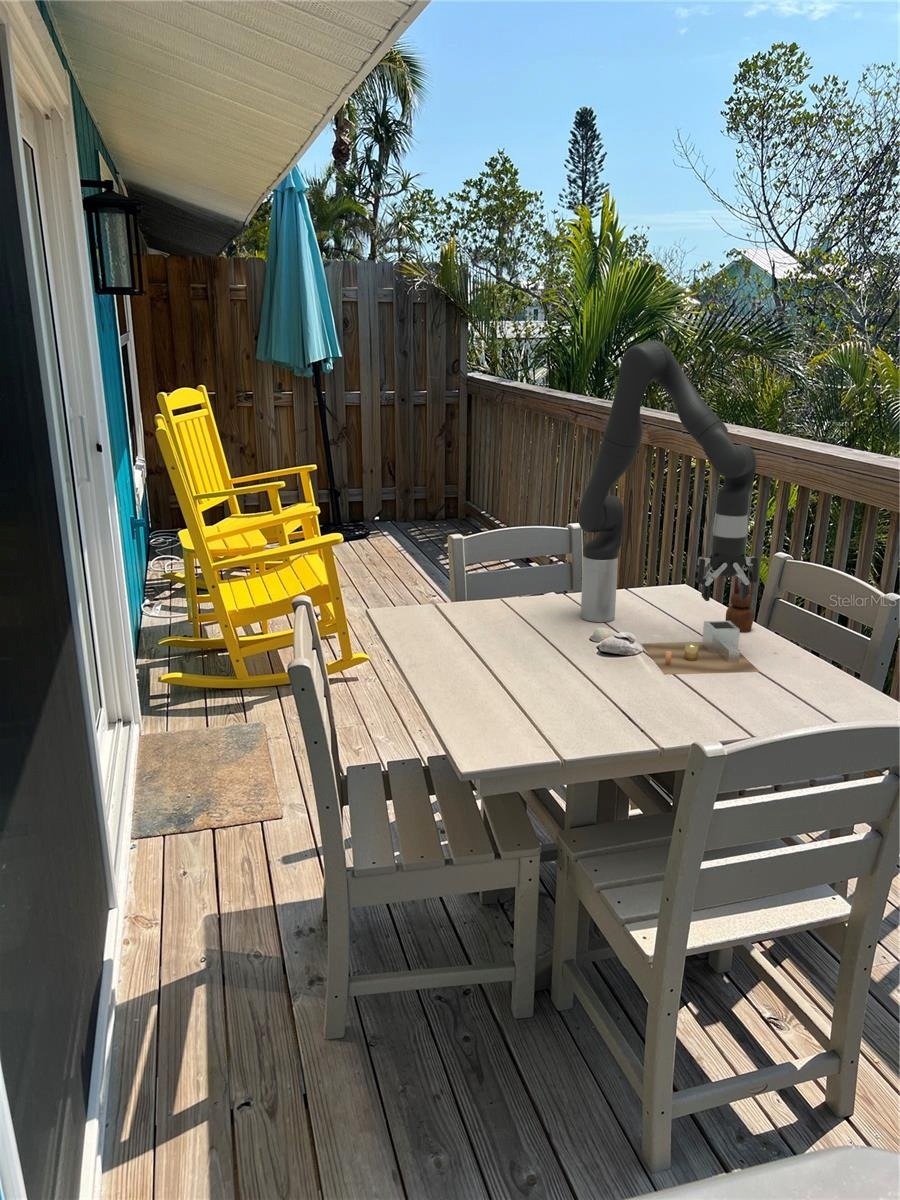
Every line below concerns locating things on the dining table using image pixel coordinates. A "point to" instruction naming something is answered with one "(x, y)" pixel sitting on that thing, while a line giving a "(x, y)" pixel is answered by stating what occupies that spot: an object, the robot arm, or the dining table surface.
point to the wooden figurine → (740, 611)
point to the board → (701, 665)
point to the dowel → (668, 658)
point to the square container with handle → (722, 639)
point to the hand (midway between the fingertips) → (723, 599)
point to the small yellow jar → (691, 651)
